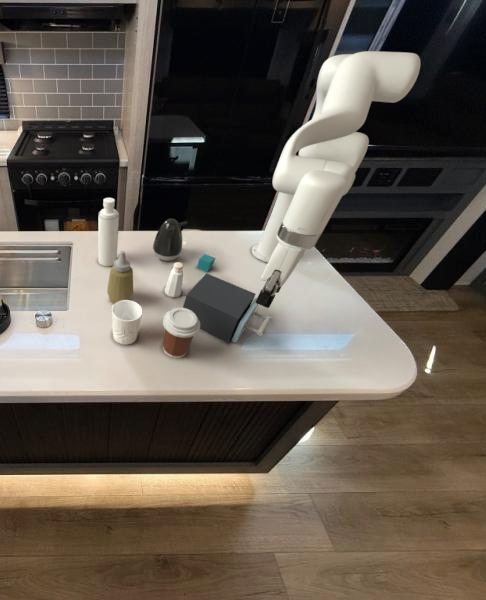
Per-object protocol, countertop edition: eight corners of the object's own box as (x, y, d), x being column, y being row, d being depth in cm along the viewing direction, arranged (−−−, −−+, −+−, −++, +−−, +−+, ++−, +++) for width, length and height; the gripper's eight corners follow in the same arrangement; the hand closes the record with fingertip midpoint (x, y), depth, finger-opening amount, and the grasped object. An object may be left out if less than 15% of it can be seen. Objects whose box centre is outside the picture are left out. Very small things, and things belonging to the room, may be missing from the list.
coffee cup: (181, 332, 89) (189, 301, 81) (198, 356, 82) (209, 325, 74) (152, 340, 87) (157, 308, 79) (167, 365, 80) (175, 334, 72)
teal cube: (202, 262, 114) (204, 253, 111) (212, 267, 112) (215, 257, 109) (196, 267, 111) (199, 258, 109) (207, 272, 109) (210, 263, 107)
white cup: (123, 321, 92) (125, 295, 85) (144, 335, 88) (148, 310, 81) (105, 335, 88) (105, 310, 81) (126, 351, 84) (128, 326, 77)
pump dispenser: (182, 265, 113) (191, 227, 102) (153, 264, 113) (159, 227, 102) (177, 249, 120) (185, 212, 110) (150, 249, 120) (155, 212, 110)
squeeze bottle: (130, 310, 95) (135, 262, 83) (104, 306, 97) (105, 258, 84) (133, 293, 101) (138, 245, 89) (109, 290, 102) (110, 242, 90)
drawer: (267, 327, 89) (278, 307, 84) (253, 352, 82) (263, 332, 77) (207, 299, 98) (213, 280, 92) (190, 320, 91) (195, 300, 86)
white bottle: (105, 253, 118) (106, 188, 101) (120, 259, 115) (124, 194, 98) (94, 262, 114) (94, 196, 97) (110, 268, 111) (112, 201, 94)
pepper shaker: (174, 300, 99) (180, 272, 91) (160, 291, 102) (165, 264, 94) (184, 292, 101) (191, 265, 94) (171, 284, 104) (177, 257, 97)
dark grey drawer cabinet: (244, 318, 93) (255, 293, 86) (227, 343, 86) (238, 319, 79) (199, 297, 100) (206, 273, 93) (180, 318, 93) (186, 294, 86)
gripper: (291, 213, 73) (263, 275, 85) (266, 245, 63) (238, 309, 75) (327, 223, 69) (293, 286, 81) (306, 259, 59) (271, 324, 71)
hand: (267, 297), depth 78 cm, fingers open, 6 cm apart
